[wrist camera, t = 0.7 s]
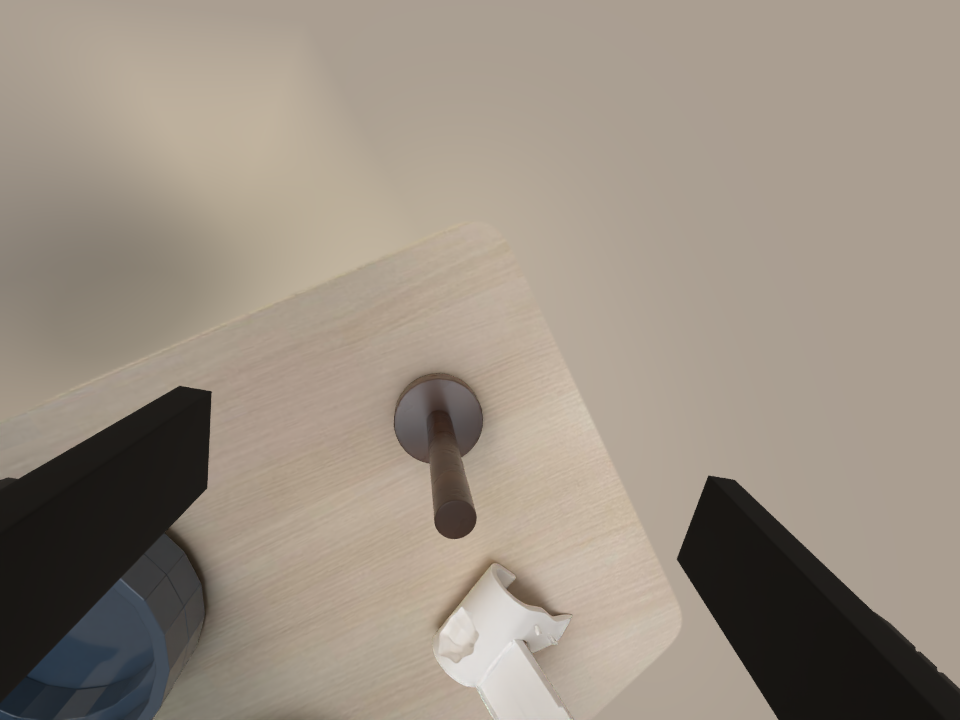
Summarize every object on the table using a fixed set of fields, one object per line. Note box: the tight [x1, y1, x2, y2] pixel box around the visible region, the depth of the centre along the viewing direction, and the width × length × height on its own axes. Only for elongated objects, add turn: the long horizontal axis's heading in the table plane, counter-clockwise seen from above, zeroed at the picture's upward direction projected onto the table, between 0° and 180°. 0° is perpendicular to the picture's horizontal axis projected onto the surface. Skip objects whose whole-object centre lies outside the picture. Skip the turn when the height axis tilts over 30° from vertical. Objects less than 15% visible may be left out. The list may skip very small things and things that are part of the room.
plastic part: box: [432, 563, 574, 720], centre depth 34 cm, size 8×10×12 cm
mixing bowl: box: [0, 533, 205, 720], centre depth 31 cm, size 17×17×6 cm
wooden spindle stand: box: [394, 373, 483, 539], centre depth 28 cm, size 6×6×16 cm
